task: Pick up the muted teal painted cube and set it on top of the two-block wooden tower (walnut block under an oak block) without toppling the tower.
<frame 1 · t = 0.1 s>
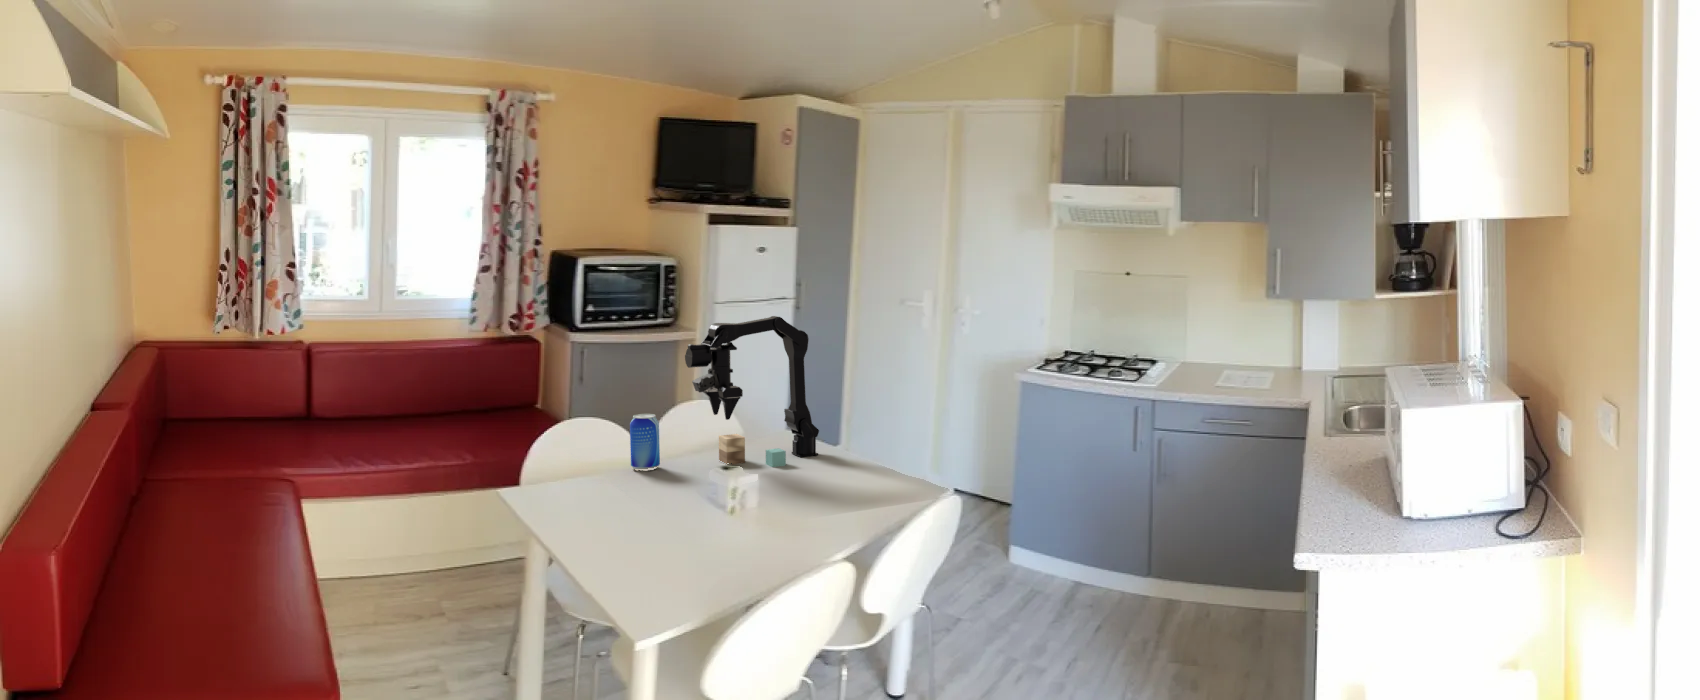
hand: (721, 417, 307), 15 cm above the table, fingers open, 9 cm apart
tower base: (732, 462, 313), on the table, touching tower top
beer can: (645, 469, 304), on the table
tower top: (731, 449, 313), point 4 cm above the table, touching tower base
teal cube: (775, 465, 309), on the table
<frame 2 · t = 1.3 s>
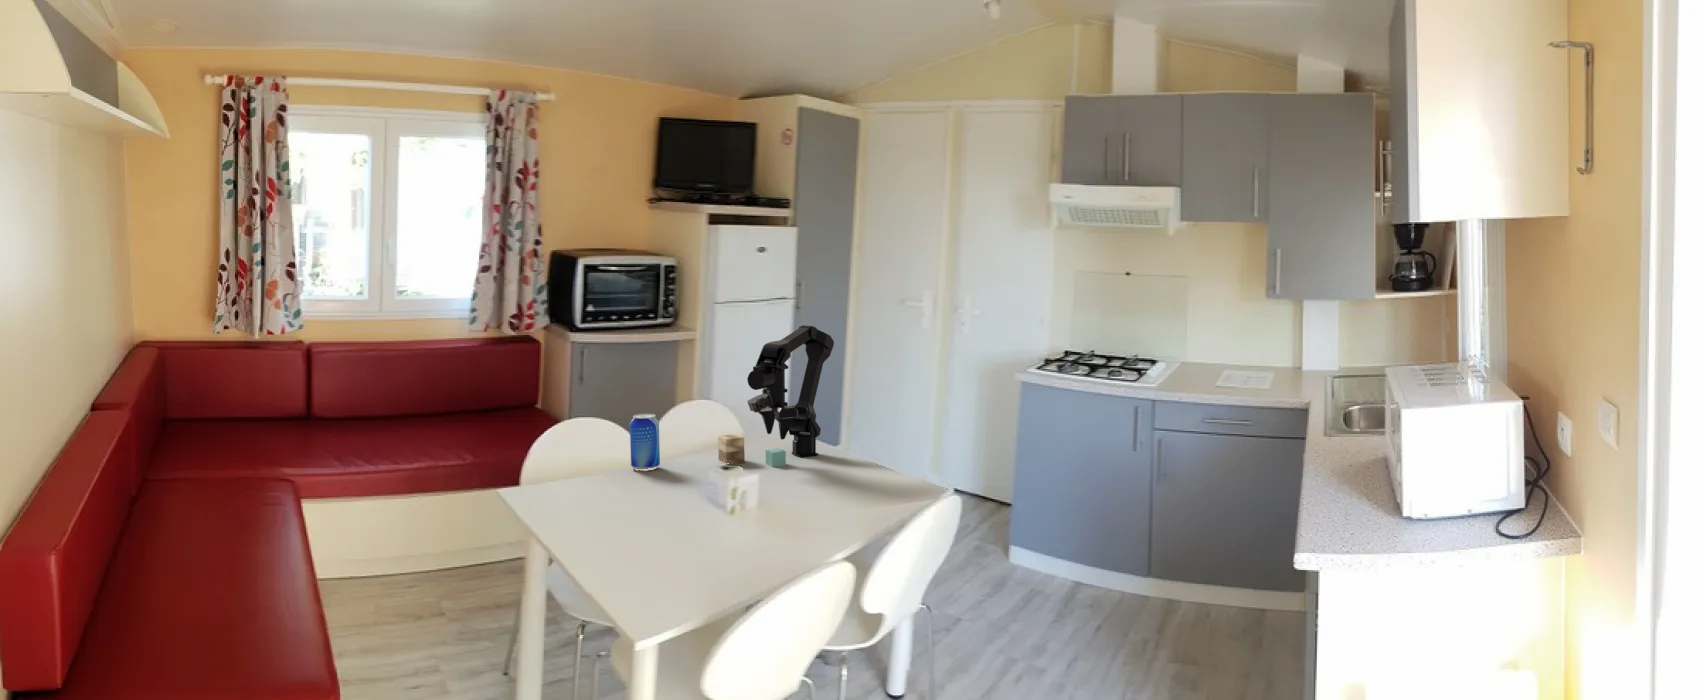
hand: (775, 436, 308), 9 cm above the table, fingers open, 9 cm apart
nothing on the table moved.
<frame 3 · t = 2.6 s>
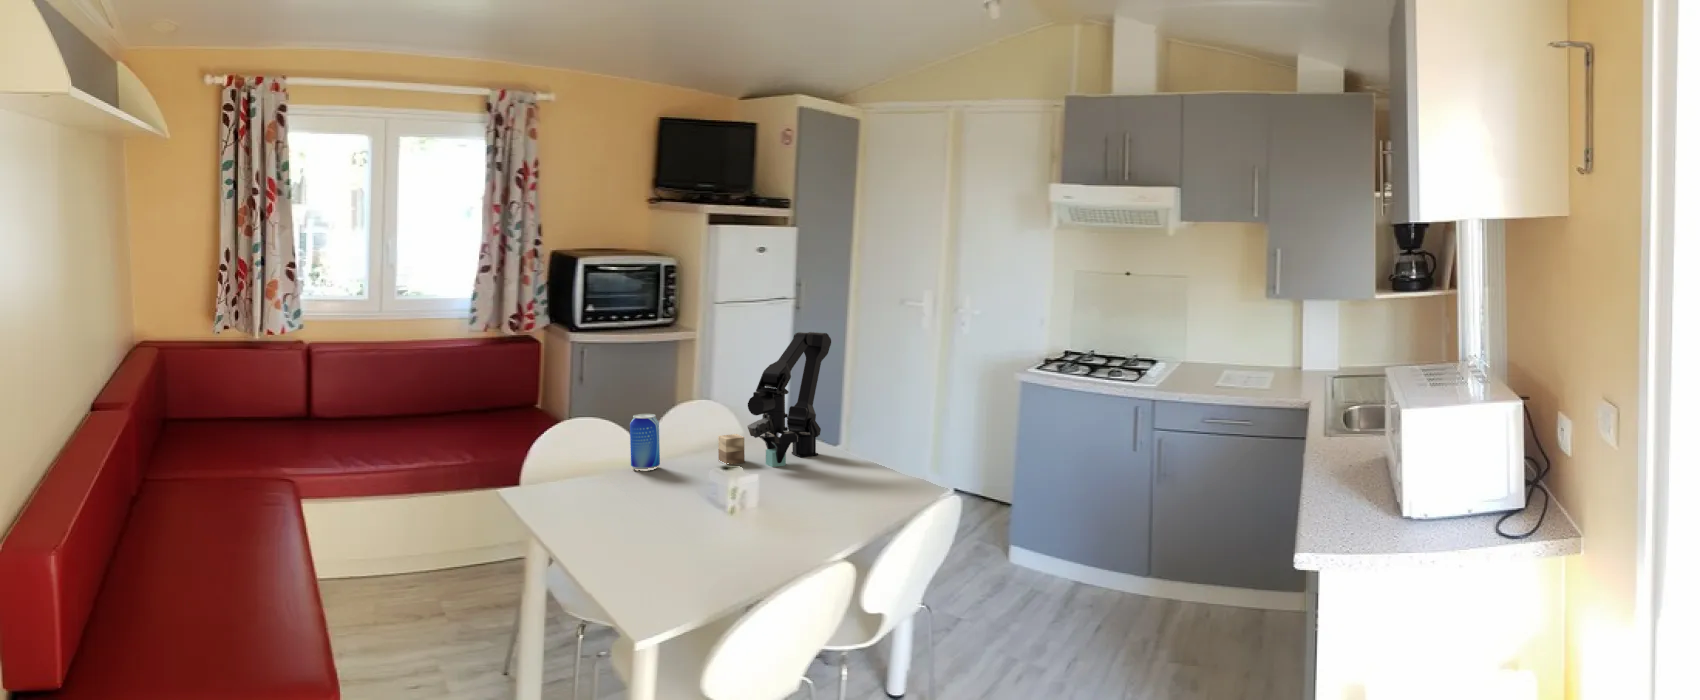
hand: (775, 461, 309), 1 cm above the table, fingers closed on teal cube, 4 cm apart
teal cube: (775, 464, 309), on the table, touching gripper
everything else where it was.
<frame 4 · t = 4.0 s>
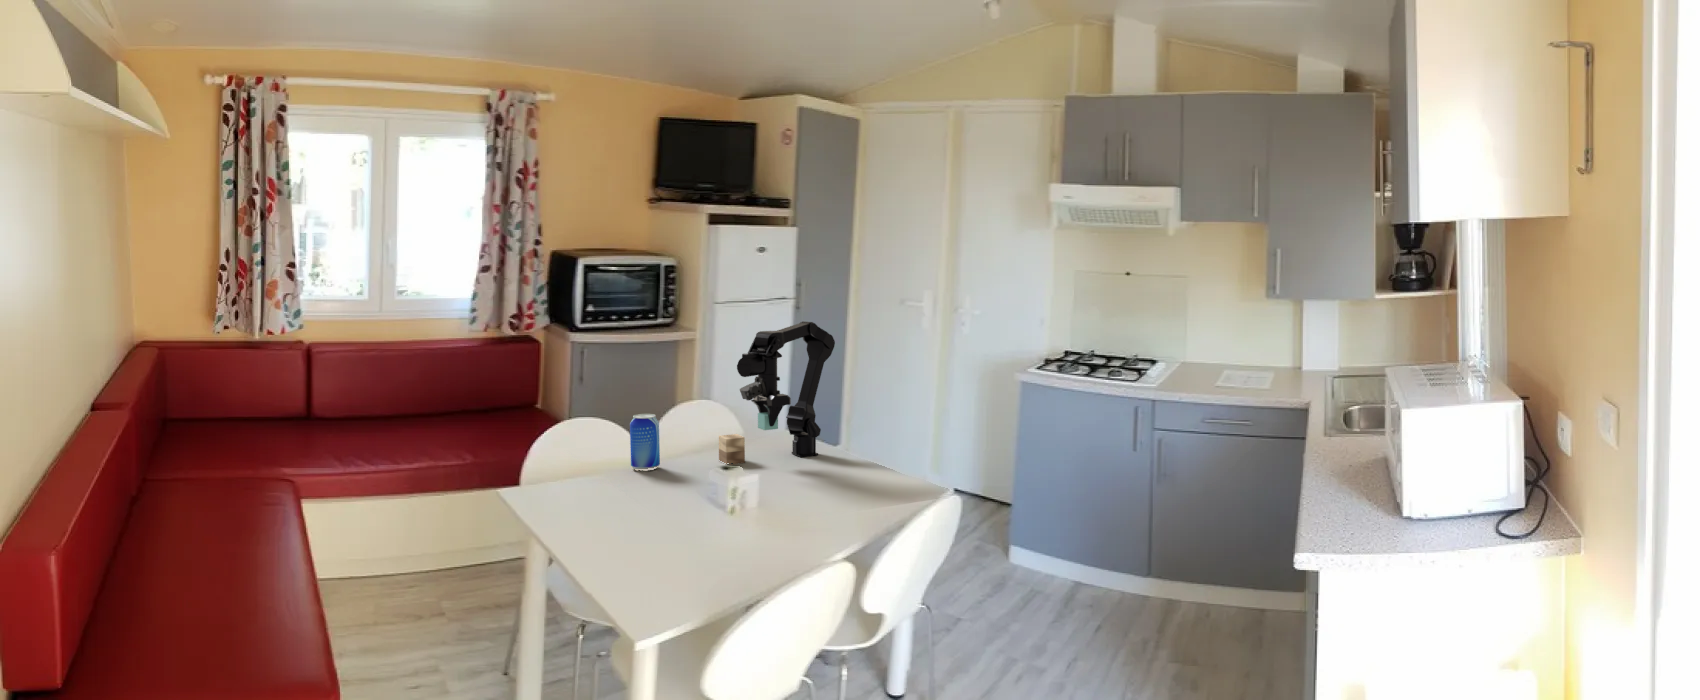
hand: (767, 424, 308), 12 cm above the table, fingers closed on teal cube, 4 cm apart
teal cube: (767, 428, 309), point 11 cm above the table, touching gripper
everything else where it was.
when the fingers open (10 cm above the table, at t = 5.4 s): teal cube drops 1 cm, resting on tower top.
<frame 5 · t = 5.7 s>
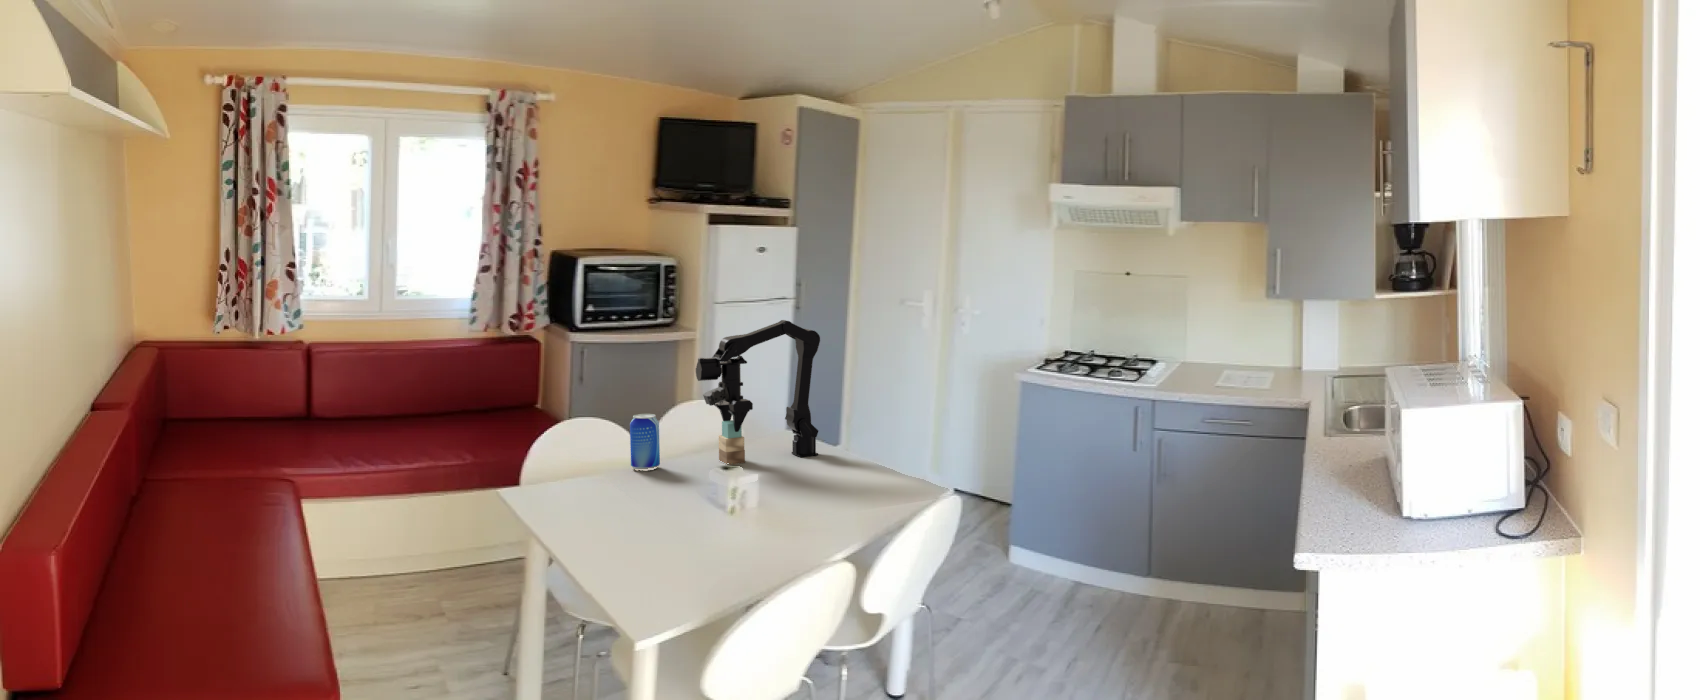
hand: (731, 429, 312), 10 cm above the table, fingers open, 7 cm apart
tower top: (731, 449, 313), point 4 cm above the table, touching teal cube, tower base
teal cube: (731, 436, 312), point 8 cm above the table, touching tower top
everything else where it was.
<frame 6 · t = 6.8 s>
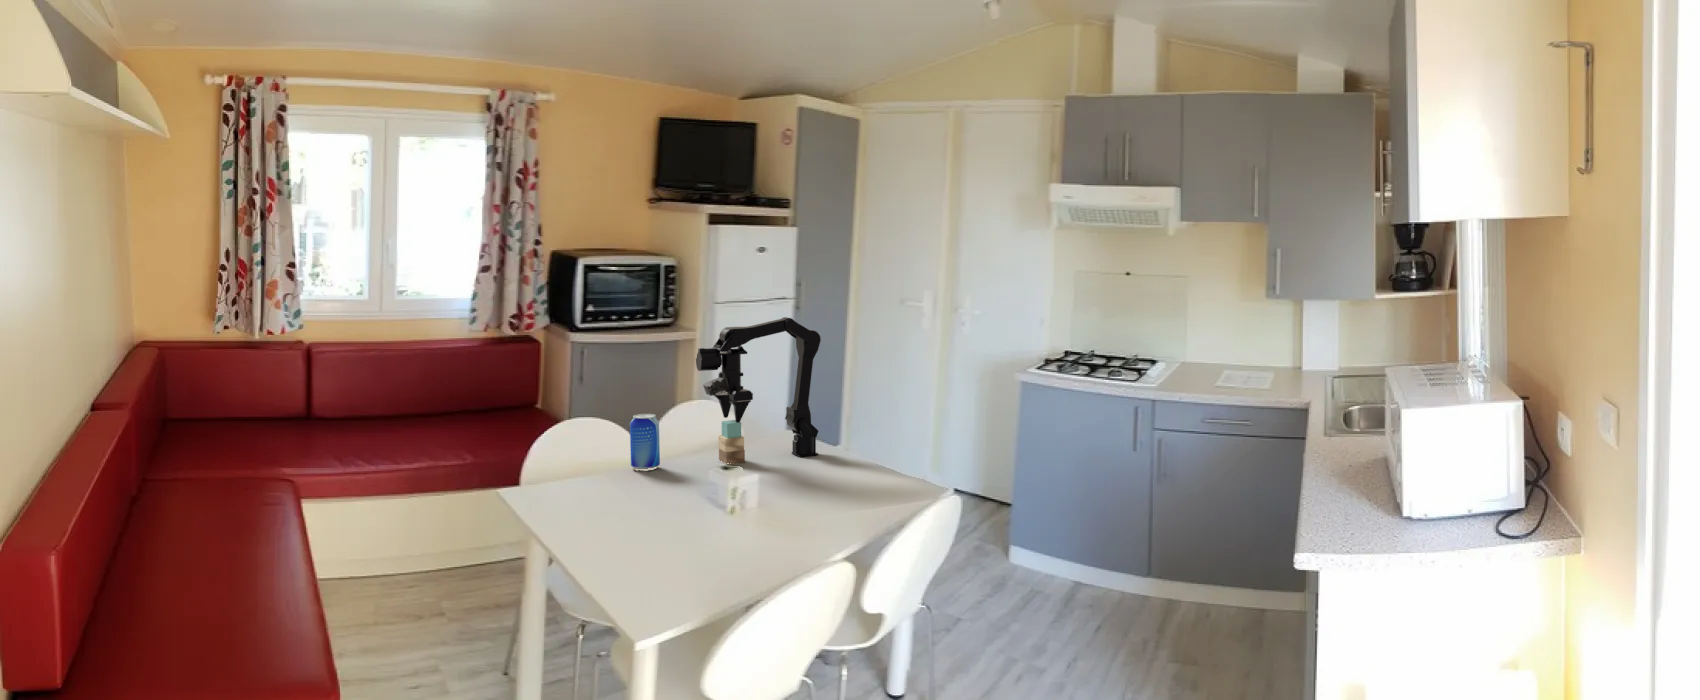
hand: (731, 420, 312), 13 cm above the table, fingers open, 9 cm apart
nothing on the table moved.
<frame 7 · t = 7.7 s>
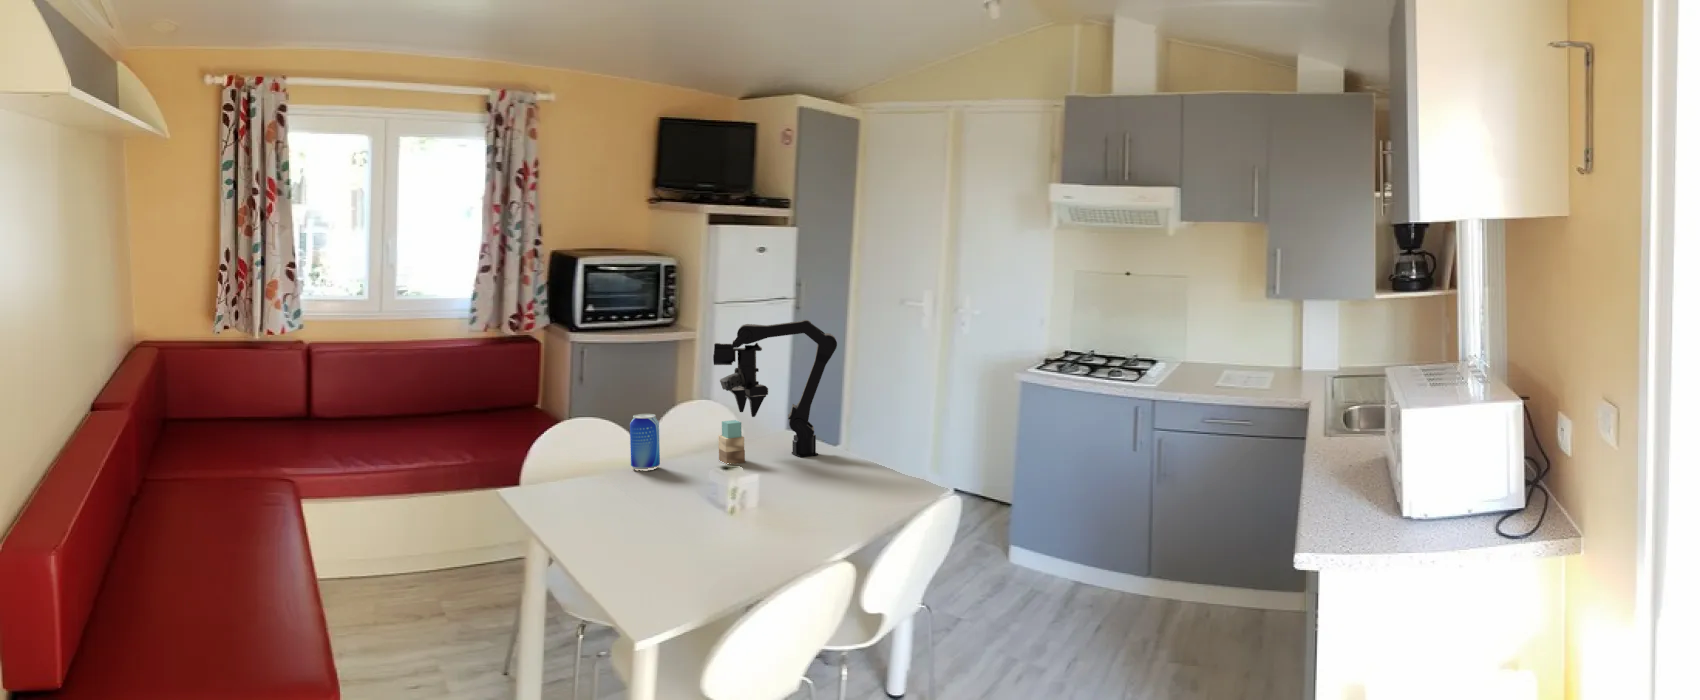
hand: (747, 414, 321), 13 cm above the table, fingers open, 9 cm apart
nothing on the table moved.
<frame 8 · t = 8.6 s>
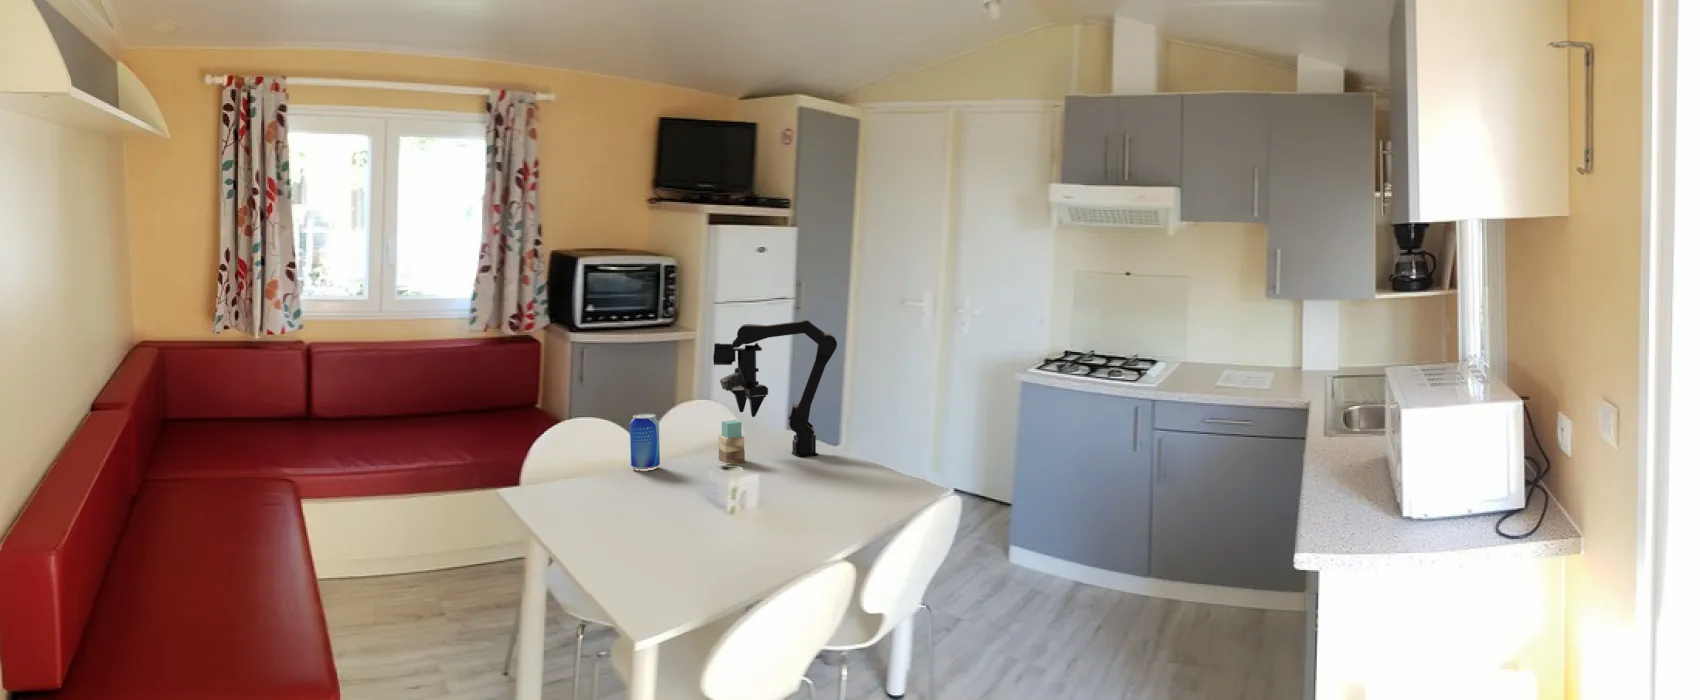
hand: (747, 414, 321), 13 cm above the table, fingers open, 9 cm apart
nothing on the table moved.
at the end: teal cube 0.1 cm off-centre on the tower base, point 8.0 cm above the tower base's base; tower top 0.1 cm off-centre on the tower base, point 4.0 cm above the tower base's base; the gripper is holding nothing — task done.
